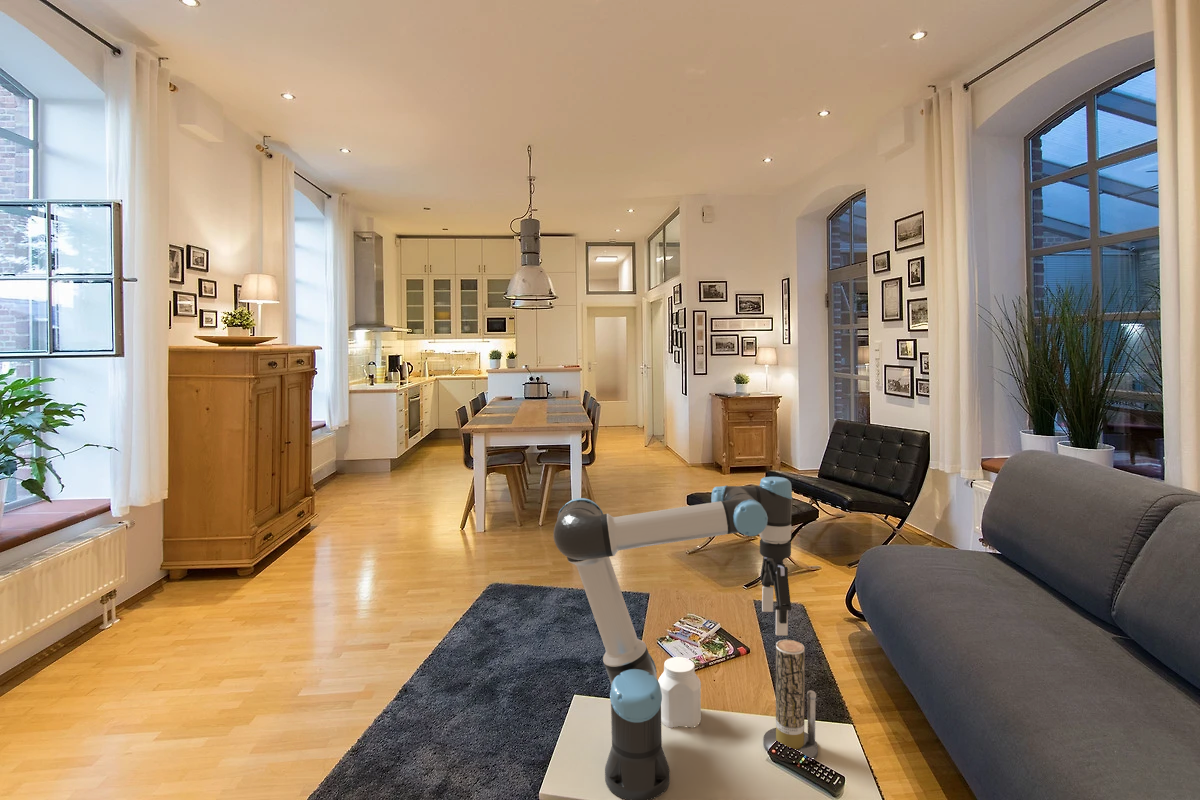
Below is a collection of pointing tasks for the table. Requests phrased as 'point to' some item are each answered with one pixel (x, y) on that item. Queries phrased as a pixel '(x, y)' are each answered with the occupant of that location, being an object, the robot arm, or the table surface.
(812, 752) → the stand
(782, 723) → the paper tube
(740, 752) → the table surface
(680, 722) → the jar
